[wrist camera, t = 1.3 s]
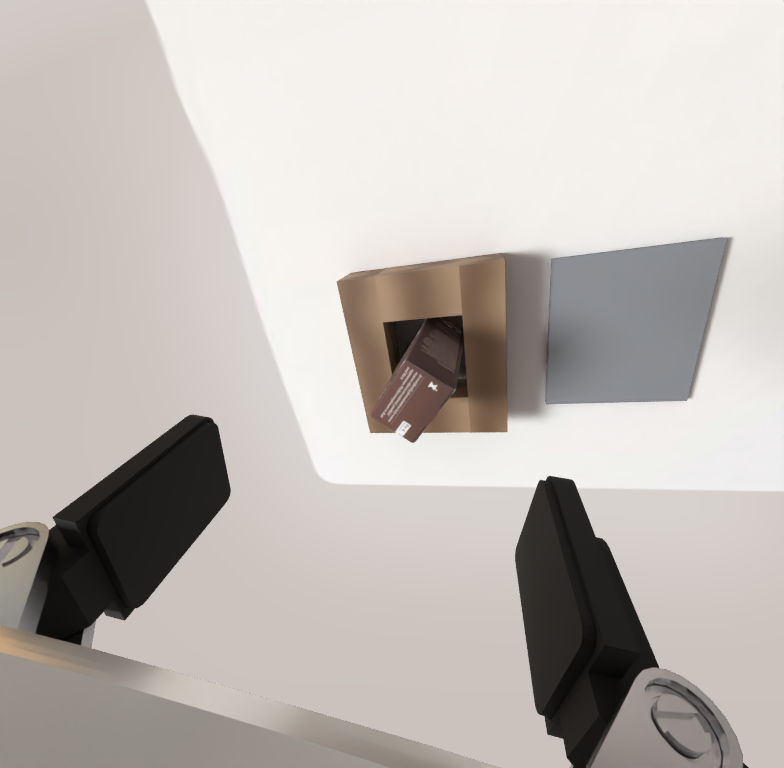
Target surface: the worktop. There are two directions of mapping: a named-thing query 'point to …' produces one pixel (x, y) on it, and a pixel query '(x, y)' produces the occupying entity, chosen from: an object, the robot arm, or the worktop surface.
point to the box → (422, 379)
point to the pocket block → (430, 300)
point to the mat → (629, 322)
